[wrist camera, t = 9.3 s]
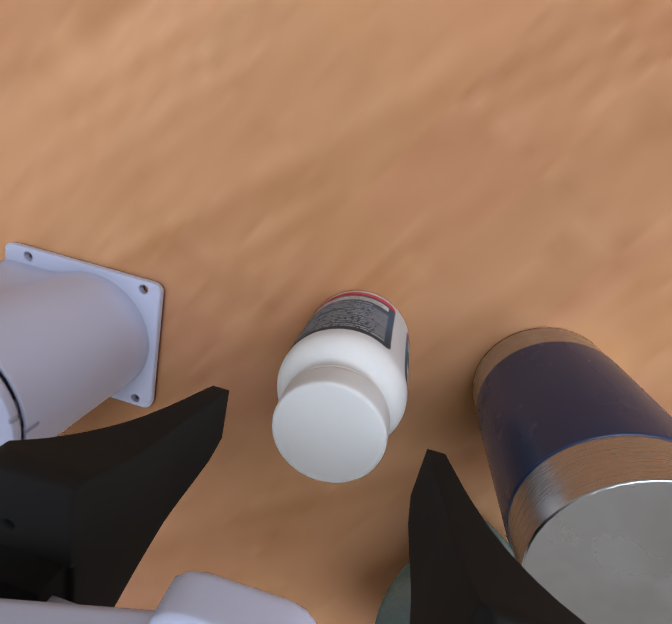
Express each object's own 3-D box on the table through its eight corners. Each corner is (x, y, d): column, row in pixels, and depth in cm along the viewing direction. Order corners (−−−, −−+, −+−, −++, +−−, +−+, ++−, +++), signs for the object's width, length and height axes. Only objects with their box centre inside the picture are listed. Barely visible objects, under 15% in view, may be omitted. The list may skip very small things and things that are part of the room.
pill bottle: (292, 316, 23) (222, 399, 15) (377, 270, 21) (354, 334, 13) (341, 396, 24) (302, 516, 16) (427, 358, 22) (434, 469, 14)
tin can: (454, 423, 23) (485, 624, 13) (497, 310, 21) (577, 444, 11) (579, 460, 23) (716, 702, 12) (638, 348, 20) (867, 529, 10)
